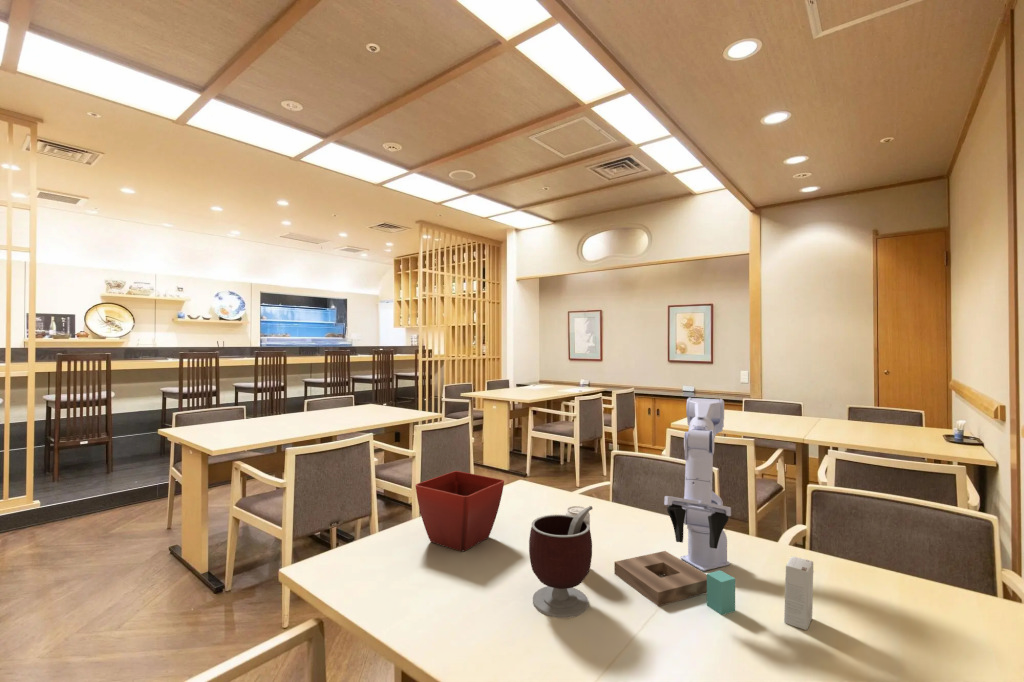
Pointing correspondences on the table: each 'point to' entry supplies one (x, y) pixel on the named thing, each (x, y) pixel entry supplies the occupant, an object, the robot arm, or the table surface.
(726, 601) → the teal peg
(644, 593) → the holder block
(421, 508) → the plant pot
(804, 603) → the skincare box
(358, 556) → the table surface
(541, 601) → the mate gourd
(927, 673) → the table surface
